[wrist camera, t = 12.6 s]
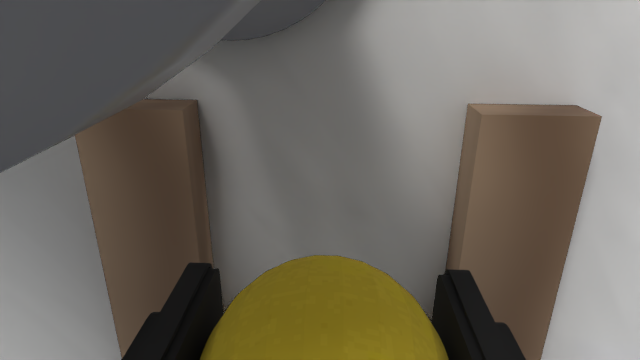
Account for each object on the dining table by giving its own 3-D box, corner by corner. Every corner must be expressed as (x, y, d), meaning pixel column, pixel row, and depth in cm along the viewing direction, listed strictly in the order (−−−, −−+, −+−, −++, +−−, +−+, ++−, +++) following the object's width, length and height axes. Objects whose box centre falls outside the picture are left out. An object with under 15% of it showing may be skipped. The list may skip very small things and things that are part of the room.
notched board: (151, 403, 20) (137, 433, 19) (94, 98, 15) (69, 108, 13) (505, 416, 20) (518, 447, 18) (576, 105, 14) (601, 116, 13)
